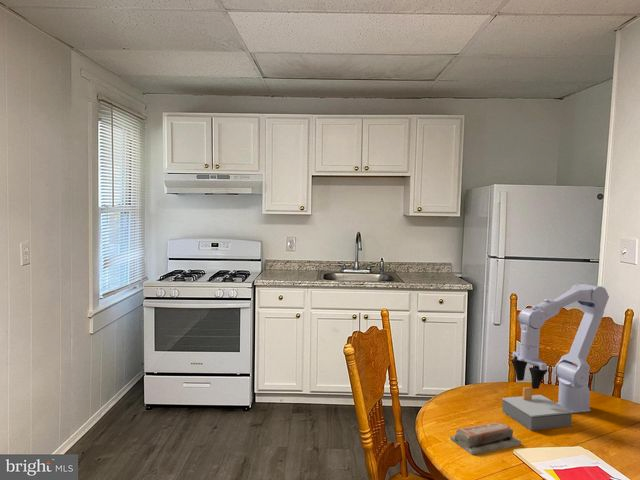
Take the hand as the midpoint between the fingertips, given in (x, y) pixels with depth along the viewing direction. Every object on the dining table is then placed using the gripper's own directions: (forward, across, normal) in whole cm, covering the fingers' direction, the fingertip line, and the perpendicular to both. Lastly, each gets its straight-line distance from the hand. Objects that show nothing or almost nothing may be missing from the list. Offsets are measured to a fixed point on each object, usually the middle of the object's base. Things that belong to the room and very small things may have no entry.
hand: (527, 384), depth 159 cm
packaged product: (+11, +15, -26) cm, 32 cm away
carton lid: (+6, +4, 0) cm, 7 cm away
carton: (+10, +4, 0) cm, 11 cm away
